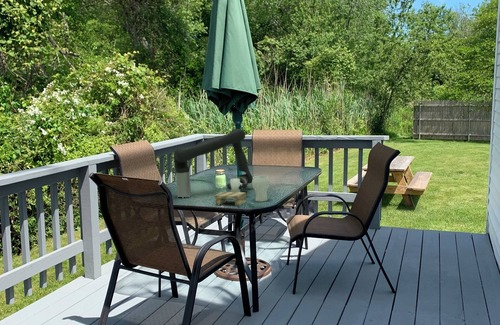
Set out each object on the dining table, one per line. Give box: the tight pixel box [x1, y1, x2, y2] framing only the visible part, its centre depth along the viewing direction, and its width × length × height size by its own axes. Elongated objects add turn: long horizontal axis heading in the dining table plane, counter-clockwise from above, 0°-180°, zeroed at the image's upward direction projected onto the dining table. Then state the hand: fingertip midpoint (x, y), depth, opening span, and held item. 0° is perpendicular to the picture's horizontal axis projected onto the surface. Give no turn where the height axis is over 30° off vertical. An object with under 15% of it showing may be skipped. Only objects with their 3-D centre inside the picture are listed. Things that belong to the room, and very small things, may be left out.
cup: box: [251, 175, 270, 202], centre depth 321 cm, size 11×11×15 cm
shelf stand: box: [214, 191, 247, 207], centre depth 317 cm, size 16×12×6 cm
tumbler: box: [230, 177, 241, 201], centre depth 330 cm, size 6×6×13 cm
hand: (234, 188), depth 327 cm, fingers closed on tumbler, 6 cm apart
